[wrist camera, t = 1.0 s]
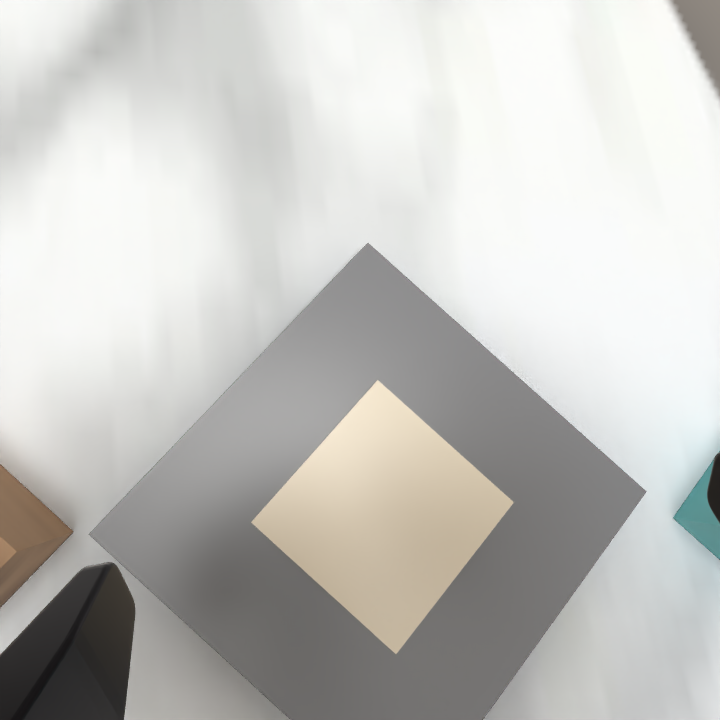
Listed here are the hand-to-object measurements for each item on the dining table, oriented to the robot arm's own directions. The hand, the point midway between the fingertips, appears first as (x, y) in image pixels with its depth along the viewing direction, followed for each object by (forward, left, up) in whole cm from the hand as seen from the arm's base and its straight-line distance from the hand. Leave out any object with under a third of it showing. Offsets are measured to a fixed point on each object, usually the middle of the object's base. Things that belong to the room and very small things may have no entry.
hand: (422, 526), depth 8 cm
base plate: (0, -2, -16) cm, 16 cm away
